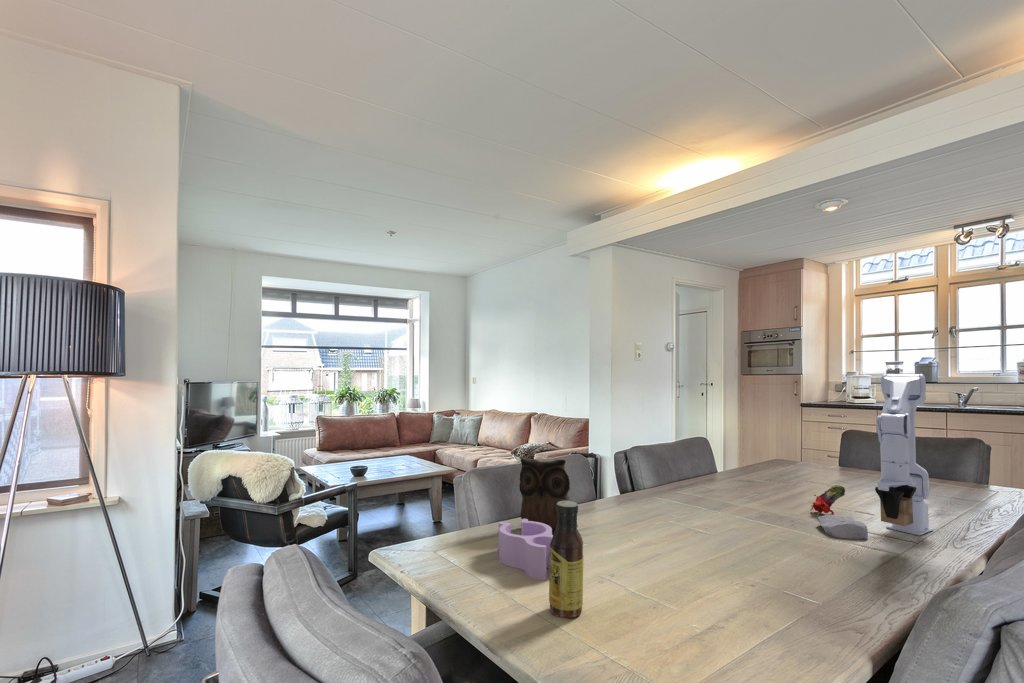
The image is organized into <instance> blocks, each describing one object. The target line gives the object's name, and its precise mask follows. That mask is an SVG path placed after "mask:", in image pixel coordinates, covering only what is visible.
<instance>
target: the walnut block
mask: <svg viewBox="0 0 1024 683" xmlns="http://www.w3.org/2000/svg"><path fill="white" fill-rule="evenodd" d="M879 499H880V498H879ZM880 522H883V523H889V524H896V525H901V526H907V525H910V524H912V523H913V503H912V499H911V498H905V497H902V498H901V501H900V505H899V513H898V517H897V519H893V518H889V517H886V514H885V511H884V507H883V504H882V502H881V499H880Z"/></svg>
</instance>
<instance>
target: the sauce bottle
mask: <svg viewBox="0 0 1024 683" xmlns="http://www.w3.org/2000/svg"><path fill="white" fill-rule="evenodd" d="M556 511H557V526H556V528H555V531H554V534H553V537H552V540H551V543H550V564H549V567H548V569H549V573H548V574H549V576H548V577H549V580H548V581H549V583H548V584H549V586H548V587H549V588H548V591H549V593H548V595H549V596H548V601H549V610H550V611H551V612H552V614H553V615H555V616H556V617H558V618H565V619H569V618H570V619H571V618H576V617H579V616H581V614H582V612H583V605H584V540H583V537H582V535H581V533H580V532H579V530H578V512H579V504H578V503H577V502H575V501H573V500H570V501H559V502H558V503H557V504H556Z"/></svg>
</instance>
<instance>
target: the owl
mask: <svg viewBox="0 0 1024 683" xmlns="http://www.w3.org/2000/svg"><path fill="white" fill-rule="evenodd" d="M566 461H567V460H566V459H551V458H550V459H549V458H548V459H544V458H536V459H535V458H534V459H533V458H524V457H521V458H520V462H521V470H520V473H519V492H520V494H521V498H522V499H521V500H522V501H521V508H520V515H519V517H520V518H521V520H522V519H528V521H534V522H540V523H544V524H546V525H548V526H550V527H551V528H552V535H553V534H554V531H555V528H556V526H557V511H556V504H557V503H558V502H559V501H571V500H570V497H569V495H568V493H569V491H570V490H571V487H570V486H571V481H570V476H569V474H568V473H567V470H566V467H565V465H566Z"/></svg>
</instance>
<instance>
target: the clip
mask: <svg viewBox="0 0 1024 683" xmlns="http://www.w3.org/2000/svg"><path fill="white" fill-rule="evenodd" d="M511 528H512V524H511V523H509V522H504V521H499V522H498V541H497V542H498V544H497V545H498V552H499V553H498V555H499V556H498V557H499V558H498V559H499V561H500V562H501V563H502V564H504V565H506V566H508V567H512V568H518V569H521V570H523V571H524V572H525V574H526V575H527V576H528V577H531V578H532V579H536V580H541V581H543V580H547V568H549V564H550V543H551V540H552V537H553V535H552V528H551V527H550V526H548V525H546V524H544V523H540V522H534V521H528V519H521V533H520V534H521V535H520V534H514V533H512V529H511Z"/></svg>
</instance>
